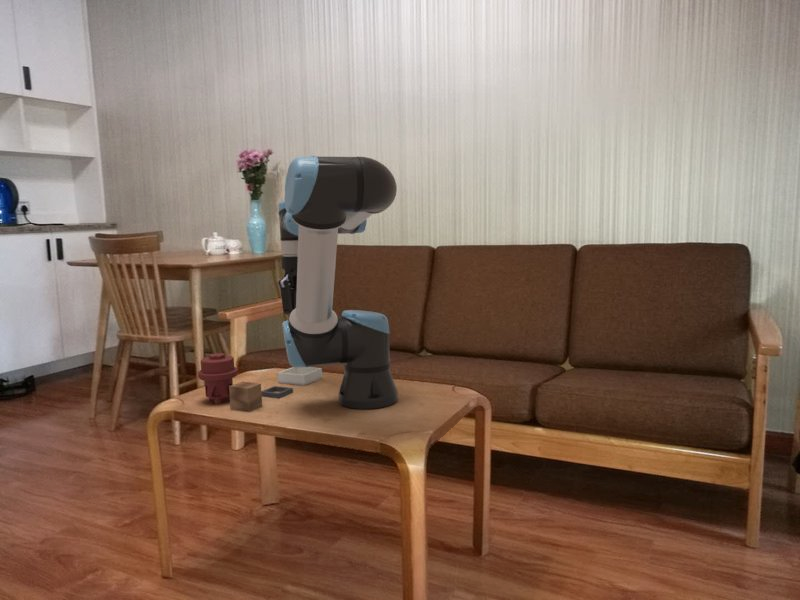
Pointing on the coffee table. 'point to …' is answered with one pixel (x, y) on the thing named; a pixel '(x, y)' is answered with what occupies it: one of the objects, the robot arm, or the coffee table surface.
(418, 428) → the coffee table surface
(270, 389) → the socket
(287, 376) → the tray
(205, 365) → the mechanical component
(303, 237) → the robot arm
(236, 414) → the coffee table surface
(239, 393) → the block
